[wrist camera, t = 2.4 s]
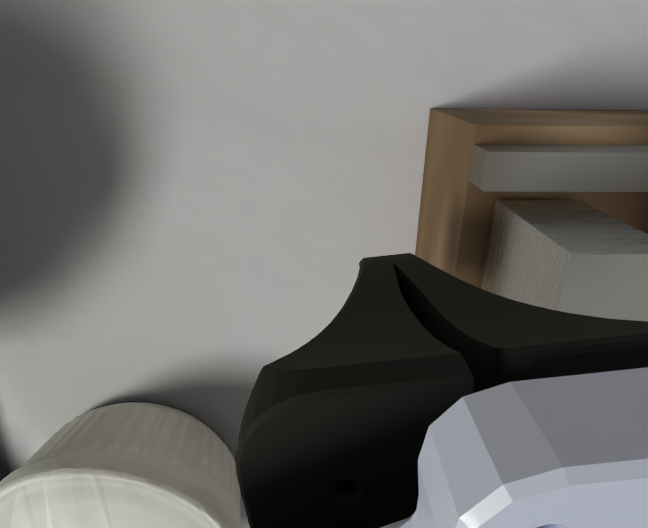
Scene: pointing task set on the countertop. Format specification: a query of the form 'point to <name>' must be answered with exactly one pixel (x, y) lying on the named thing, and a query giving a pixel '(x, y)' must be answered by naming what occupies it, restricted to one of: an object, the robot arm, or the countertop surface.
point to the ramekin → (126, 474)
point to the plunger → (567, 259)
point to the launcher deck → (524, 173)
